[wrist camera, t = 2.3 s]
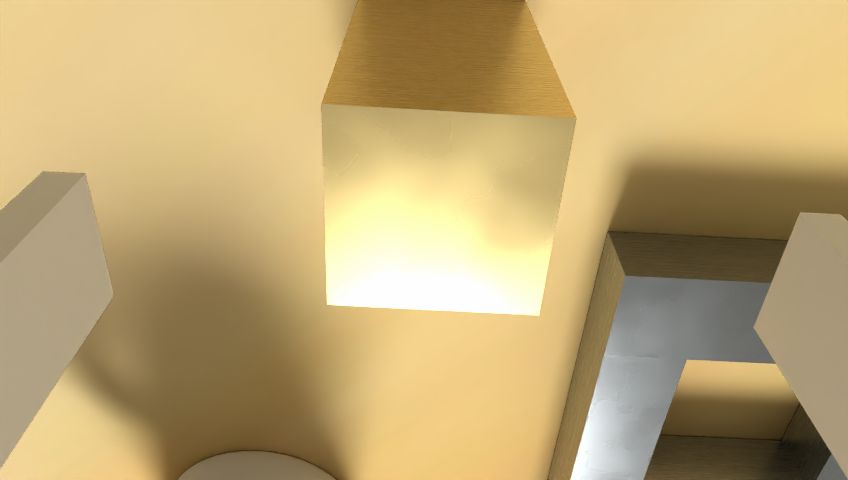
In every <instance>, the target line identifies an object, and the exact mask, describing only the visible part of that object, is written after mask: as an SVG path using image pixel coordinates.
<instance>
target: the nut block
mask: <svg viewBox="0 0 848 480" xmlns="http://www.w3.org/2000/svg"><path fill="white" fill-rule="evenodd" d="M321 113H322V146H323V180H324V214H325V248H326V282H327V305H345V306H365V307H385V308H405V309H425V310H445V311H465V312H485V313H505V314H524V315H539V312H540V306H541V301H542V296H543V291H544V286H545V280H546V275H547V270H548V265H549V259H550V254H551V249H552V244H553V239H554V233H555V228H556V223H557V218H558V212H559V207H560V202H561V197H562V192H563V186H564V181H565V176H566V171H567V165H568V160H569V155H570V150H571V145H572V139H573V134H574V129H575V124H576V116H575V114H574V112H573V109H572V107H571V105H570V102H569V100H568V98H567V95H566V93H565V91H564V89H563V86H562V84H561V82H560V79H559V77H558V75H557V73H556V70H555V68H554V66H553V63H552V61H551V59H550V57H549V54H548V52H547V50H546V47H545V45H544V43H543V41H542V38H541V36H540V34H539V31H538V29H537V27H536V24H535V22H534V20H533V18H532V15H531V13H530V11H529V8H528V6H527V4H526V2H525V1H513V0H358V2H357V5H356V8H355V11H354V14H353V16H352V19H351V22H350V25H349V28H348V30H347V33H346V36H345V39H344V42H343V44H342V47H341V50H340V53H339V56H338V58H337V61H336V64H335V67H334V70H333V72H332V75H331V78H330V81H329V84H328V87H327V89H326V92H325V95H324V98H323V101H322V103H321Z"/></svg>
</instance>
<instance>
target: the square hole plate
mask: <svg viewBox="0 0 848 480" xmlns="http://www.w3.org/2000/svg"><path fill="white" fill-rule="evenodd" d="M787 243H788V241H782V240H763V239H744V238H725V237H706V236H686V235H667V234H648V233H629V232H610V231H608V232H607V236H606V240H605V245H604V249H603V253H602V257H601V261H600V265H599V269H598V274H597V278H596V282H595V286H594V290H593V294H592V299H591V303H590V307H589V311H588V315H587V319H586V323H585V328H584V332H583V336H582V340H581V344H580V348H579V352H578V357H577V361H576V365H575V369H574V373H573V377H572V381H571V386H570V390H569V394H568V398H567V402H566V406H565V410H564V415H563V419H562V423H561V427H560V431H559V435H558V439H557V444H556V448H555V452H554V456H553V460H552V464H551V468H550V473H549V477H548V480H848V479H847V477H846V476H845V474H844V472H843V471H842V469H841V468H840V466H839V464H838V463H837V461H836V460H835V458H834V456H833V455H832V453H831V452H830V450H829V448H828V447H827V445H826V443H825V442H824V440H823V439H822V437H821V435H820V434H819V432H818V431H817V429H816V427H815V426H814V424H813V423H812V421H811V419H810V418H809V416H808V414H807V413H806V411H805V410H804V408H803V406H802V405H801V403H800V405H799V407H798V409H797V411H796V413H795V415H794V417H793V419H792V420H791V422H790V424H789V426H788V428H787V430H786V432H785V434H784V436H783V438H782V440H781V441H779V440H757V439H735V438H713V437H691V436H669V435H660V432H661V429H662V427H663V424H664V421H665V418H666V415H667V413H668V410H669V407H670V404H671V402H672V399H673V396H674V393H675V391H676V388H677V385H678V382H679V379H680V377H681V374H682V371H683V368H684V366H685V363H686V360H687V359H689V360H710V361H731V362H751V363H772V364H776V363H775V361H774V360H773V358H772V357H771V355H770V353H769V352H768V350H767V348H766V347H765V345H764V344H763V342H762V340H761V339H760V337H759V336H758V334H757V332H756V331H755V329H754V328H753V327H754V325H755V322H756V320H757V318H758V315H759V313H760V310H761V308H762V305H763V303H764V300H765V298H766V295H767V293H768V290H769V288H770V285H771V283H772V280H773V278H774V275H775V273H776V270H777V268H778V265H779V263H780V260H781V258H782V256H783V253H784V251H785V248H786V246H787Z"/></svg>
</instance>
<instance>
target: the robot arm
mask: <svg viewBox="0 0 848 480" xmlns="http://www.w3.org/2000/svg"><path fill="white" fill-rule="evenodd" d="M113 296H114V293H113V289H112V284H111V280H110V276H109V271H108V267H107V263H106V259H105V254H104V250H103V246H102V241H101V237H100V233H99V229H98V224H97V220H96V216H95V211H94V207H93V203H92V199H91V194H90V190H89V186H88V181H87V177H86V174H83V173H65V172H46V171H43V172H42V173H41V174H40V175H39V176H37V177H36V178H35V179H34V180H33V181H32V182H31V183H30V184H29V185H28V186H27V187H26V188H25V189H23V190H22V191H21V192H20V193H19V194H18V195H17V196H16V197H15V198H14V199H13V200H12V201H11V202H9V203H8V204H7V205H6V206H5V207H4V208H3V209H2V210H1V211H0V469H1V467H2V466H3V464H4V463H5V461H6V460H7V458H8V457H9V455H10V453H11V452H12V450H13V449H14V447H15V446H16V444H17V443H18V441H19V440H20V438H21V437H22V435H23V434H24V432H25V431H26V429H27V428H28V426H29V424H30V423H31V421H32V420H33V418H34V417H35V415H36V414H37V412H38V411H39V409H40V408H41V406H42V405H43V403H44V402H45V400H46V399H47V397H48V395H49V394H50V392H51V391H52V389H53V388H54V386H55V385H56V383H57V382H58V380H59V379H60V377H61V376H62V374H63V373H64V371H65V370H66V368H67V367H68V365H69V363H70V362H71V360H72V359H73V357H74V356H75V354H76V353H77V351H78V350H79V348H80V347H81V345H82V344H83V342H84V341H85V339H86V338H87V336H88V334H89V333H90V331H91V330H92V328H93V327H94V325H95V324H96V322H97V321H98V319H99V318H100V316H101V315H102V313H103V312H104V310H105V309H106V307H107V305H108V304H109V302H110V301H111V299H112V298H113ZM753 328H754V329H755V331H756V332H757V334H758V336H759V337H760V339H761V340H762V342H763V344H764V345H765V347H766V348H767V350H768V352H769V353H770V355H771V357H772V358H773V360H774V361H775V363H776V365H777V366H778V368H779V369H780V371H781V373H782V374H783V376H784V377H785V379H786V381H787V382H788V384H789V385H790V387H791V389H792V390H793V392H794V394H795V395H796V397H797V398H798V400H799V402H800V403H801V405H802V406H803V408H804V410H805V411H806V413H807V414H808V416H809V418H810V419H811V421H812V423H813V424H814V426H815V427H816V429H817V431H818V432H819V434H820V435H821V437H822V439H823V440H824V442H825V443H826V445H827V447H828V448H829V450H830V452H831V453H832V455H833V456H834V458H835V460H836V461H837V463H838V464H839V466H840V468H841V469H842V471H843V472H844V474H845V476H846V477H847V479H848V221H847V220H846V219H845V218H844V217H843V216H842V215H841V214H827V213H808V212H800V213H799V216H798V218H797V221H796V223H795V226H794V228H793V231H792V233H791V236H790V238H789V241H788V243H787V246H786V248H785V251H784V253H783V256H782V258H781V260H780V263H779V265H778V268H777V270H776V273H775V275H774V278H773V280H772V283H771V285H770V288H769V290H768V293H767V295H766V298H765V300H764V303H763V305H762V308H761V310H760V313H759V315H758V318H757V320H756V322H755V325H754V327H753Z"/></svg>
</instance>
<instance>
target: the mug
mask: <svg viewBox="0 0 848 480" xmlns="http://www.w3.org/2000/svg"><path fill="white" fill-rule="evenodd" d="M178 480H336V479H335V478H334V477H332V476H331V475H330V474H328V473H327V472H325V471H324V470H322V469H320V468H319V467H317V466H315V465H313V464H311V463H308V462H306V461H304V460H301V459H298V458H295V457H292V456H288V455H284V454H279V453H273V452H266V451H237V452H229V453H224V454H220V455H216V456H213V457H210V458H207V459H205V460H203V461H201V462H198V463H197V464H195V465H194V466H192V467H191V468H189V469H188V470H187V471H185V472H184V473H183V474H182V475H181V476H180V478H179V479H178Z"/></svg>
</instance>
